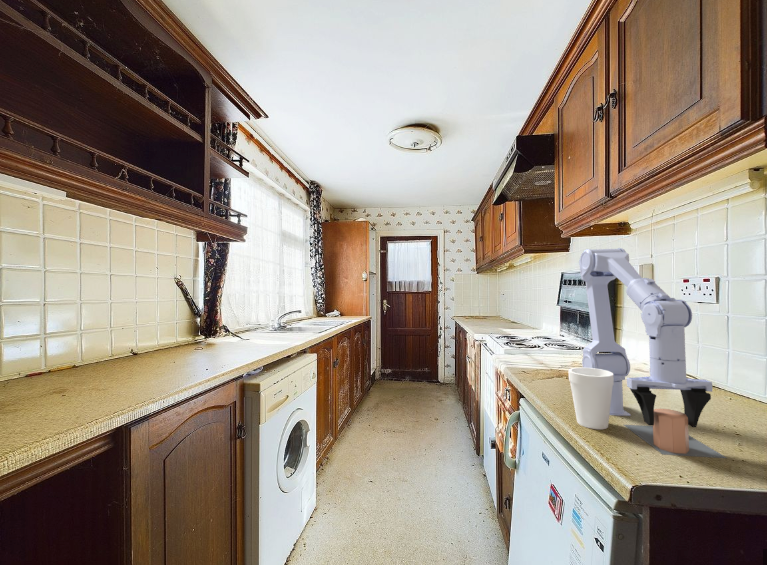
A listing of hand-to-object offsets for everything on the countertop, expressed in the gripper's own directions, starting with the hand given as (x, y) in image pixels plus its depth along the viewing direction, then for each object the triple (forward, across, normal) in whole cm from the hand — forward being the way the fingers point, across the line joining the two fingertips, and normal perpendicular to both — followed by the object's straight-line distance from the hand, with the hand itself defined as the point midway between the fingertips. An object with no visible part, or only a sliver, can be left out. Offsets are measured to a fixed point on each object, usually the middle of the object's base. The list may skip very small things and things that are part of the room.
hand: (669, 424), depth 70 cm
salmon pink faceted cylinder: (+5, 0, 0) cm, 5 cm away
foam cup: (+5, -10, +11) cm, 16 cm away
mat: (+5, +2, +4) cm, 7 cm away
